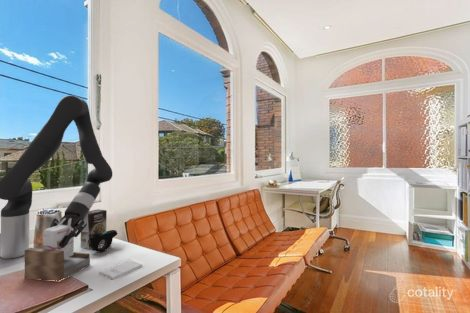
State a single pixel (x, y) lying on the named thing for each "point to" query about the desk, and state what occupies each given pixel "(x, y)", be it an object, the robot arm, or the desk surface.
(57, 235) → the ink box
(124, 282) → the desk surface
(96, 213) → the coffee box
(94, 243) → the controller
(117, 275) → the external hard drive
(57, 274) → the brown open tray
